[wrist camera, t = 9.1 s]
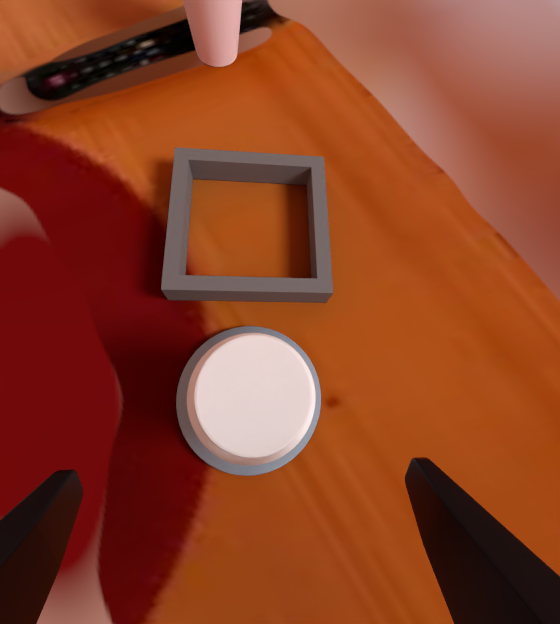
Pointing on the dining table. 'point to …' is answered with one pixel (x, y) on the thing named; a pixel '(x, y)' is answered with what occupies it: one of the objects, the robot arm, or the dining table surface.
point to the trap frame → (246, 170)
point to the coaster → (189, 431)
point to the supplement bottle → (251, 399)
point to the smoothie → (214, 29)
